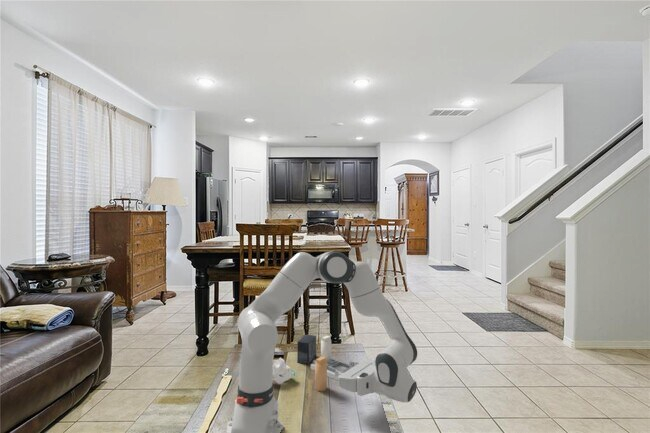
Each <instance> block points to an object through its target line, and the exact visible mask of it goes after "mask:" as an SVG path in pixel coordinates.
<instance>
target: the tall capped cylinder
mask: <svg viewBox="0 0 650 433" xmlns="http://www.w3.org/2000/svg"><path fill="white" fill-rule="evenodd" d="M315 360H316V361H315V372H314V389H315V391H317V392H325V391H326V390H327V388H328V387H327V386H328V384H327V382H328V381H327V380H328V376H327V361H326V357H324V356H322V357H321V356H320V357H317V358H316V359H315Z"/></svg>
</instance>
